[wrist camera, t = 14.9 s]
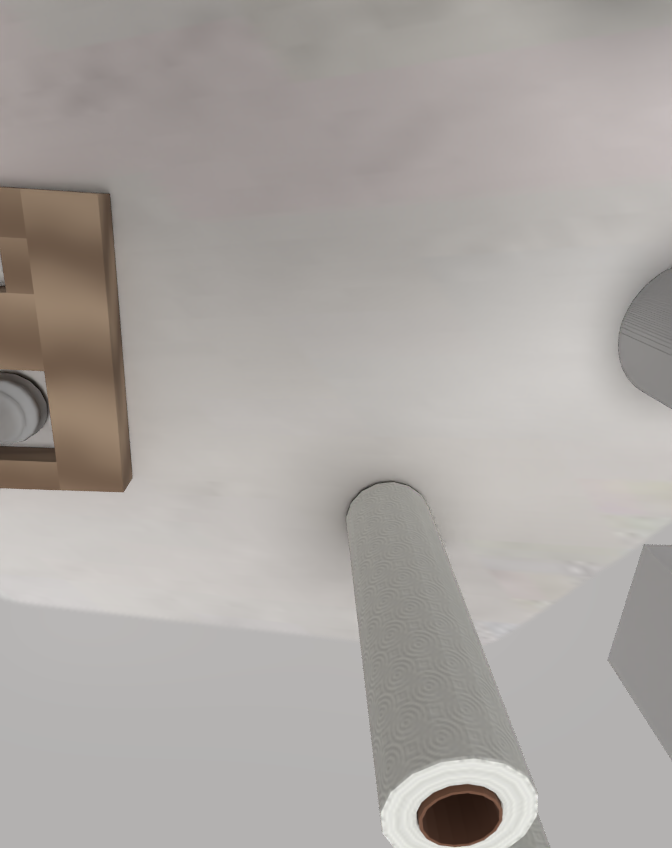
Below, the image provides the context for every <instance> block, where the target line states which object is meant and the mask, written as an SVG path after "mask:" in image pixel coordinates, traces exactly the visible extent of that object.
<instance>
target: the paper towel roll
mask: <svg viewBox="0 0 672 848" xmlns="http://www.w3.org/2000/svg"><path fill="white" fill-rule="evenodd" d="M346 523H347V532H348V540H349V549H350V558H351V567H352V575H353V584H354V593H355V601H356V610H357V619H358V627H359V636H360V645H361V653H362V661H363V671H364V679H365V688H366V697H367V704H368V714H369V722H370V731H371V740H372V749H373V758H374V766H375V775H376V784H377V792H378V800H379V809H380V818H381V827H382V832H383V834H384V835H385V837H386V838H387V839H388V841H389V842H390V843H391V844H392V845H393V847H394V848H550V845H549V842H548V840H547V837H546V834H545V832H544V829H543V826H542V823H541V821H540V818H539V815H538V813H537V803H538V792H537V790H536V787H535V784H534V782H533V779H532V777H531V774H530V771H529V769H528V766H527V763H526V761H525V758H524V756H523V753H522V751H521V748H520V745H519V742H518V740H517V737H516V735H515V732H514V729H513V727H512V724H511V721H510V719H509V716H508V714H507V711H506V709H505V706H504V704H503V701H502V698H501V695H500V693H499V690H498V687H497V685H496V682H495V680H494V677H493V675H492V672H491V669H490V666H489V664H488V661H487V659H486V657H485V654H484V651H483V648H482V645H481V643H480V640H479V638H478V635H477V632H476V630H475V627H474V624H473V622H472V619H471V617H470V614H469V611H468V609H467V606H466V604H465V601H464V598H463V596H462V593H461V590H460V588H459V585H458V583H457V580H456V577H455V575H454V572H453V569H452V567H451V564H450V562H449V559H448V556H447V554H446V551H445V548H444V546H443V543H442V541H441V538H440V535H439V533H438V530H437V528H436V525H435V522H434V520H433V517H432V514H431V512H430V509H429V507H428V505H427V504H426V502H425V500H424V498H423V496H422V495H420V494H419V493H418V492H416V491H415V490H414V489H412V488H411V487H409V486H407V485H403V484H399V483H395V482H389V483H380V484H375V485H373V486H371V487H369V488H367V489H365V490H363V491H362V492H361V493H360V494H359V495H358V496H357V497H356V498H355V499H354V500H353V502H352V503H351V505H350V508H349V511H348V513H347V516H346Z"/></svg>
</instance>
